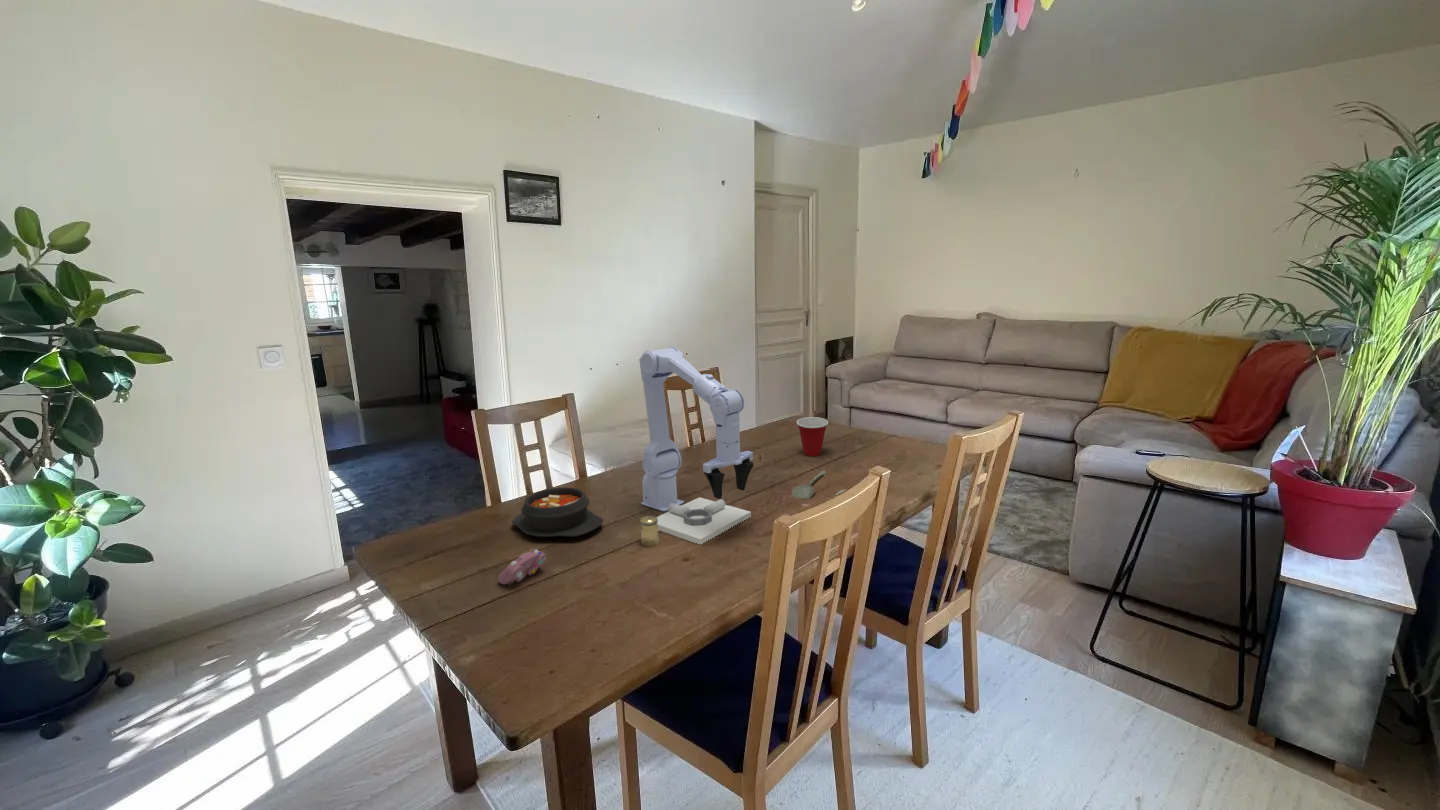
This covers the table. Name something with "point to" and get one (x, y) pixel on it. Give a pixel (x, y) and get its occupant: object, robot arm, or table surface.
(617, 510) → the table surface
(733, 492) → the table surface
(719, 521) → the shaft base
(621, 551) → the table surface
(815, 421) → the plastic cup
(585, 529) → the casserole
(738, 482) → the robot arm
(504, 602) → the table surface
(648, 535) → the salt shaker
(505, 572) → the video game controller
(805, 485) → the soupspoon
